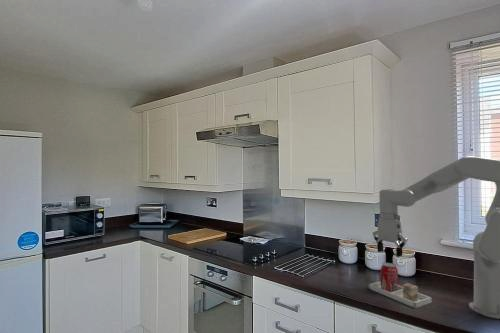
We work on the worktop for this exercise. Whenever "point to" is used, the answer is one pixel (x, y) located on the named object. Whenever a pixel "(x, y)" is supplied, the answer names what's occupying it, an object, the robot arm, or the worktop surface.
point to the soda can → (389, 277)
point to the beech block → (410, 292)
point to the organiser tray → (401, 295)
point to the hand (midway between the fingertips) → (389, 253)
